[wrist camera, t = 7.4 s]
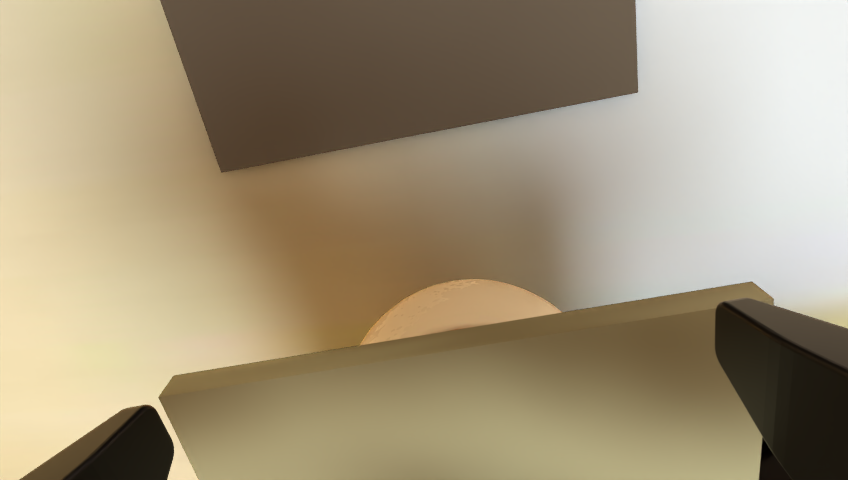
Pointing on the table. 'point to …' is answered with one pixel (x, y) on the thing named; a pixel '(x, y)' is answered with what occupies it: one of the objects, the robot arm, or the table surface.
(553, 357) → the lid
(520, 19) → the mat
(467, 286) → the lidded jar
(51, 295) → the table surface
